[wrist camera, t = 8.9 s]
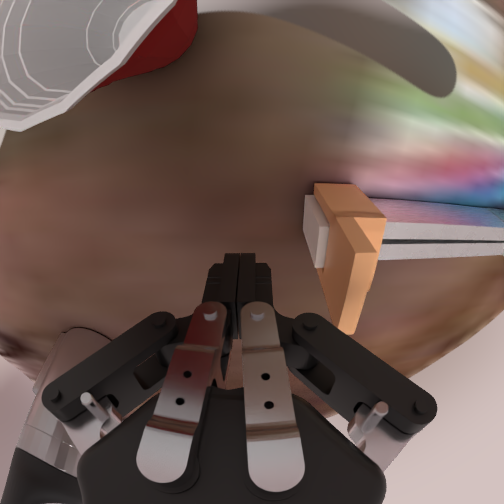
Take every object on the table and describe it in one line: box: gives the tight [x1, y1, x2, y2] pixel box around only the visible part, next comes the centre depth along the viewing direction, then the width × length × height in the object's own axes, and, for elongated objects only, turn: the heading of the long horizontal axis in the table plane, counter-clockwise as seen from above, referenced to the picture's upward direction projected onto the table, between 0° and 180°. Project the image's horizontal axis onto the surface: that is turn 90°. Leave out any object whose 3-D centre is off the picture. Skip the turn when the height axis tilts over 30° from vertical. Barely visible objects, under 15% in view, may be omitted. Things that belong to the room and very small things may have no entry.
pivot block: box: [303, 195, 330, 268], centre depth 18 cm, size 4×3×5 cm
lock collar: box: [314, 183, 387, 335], centre depth 16 cm, size 3×5×9 cm, turn 1°
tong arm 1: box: [378, 239, 504, 260], centre depth 19 cm, size 18×1×4 cm, turn 92°
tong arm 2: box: [369, 198, 504, 241], centre depth 18 cm, size 18×1×4 cm, turn 91°
